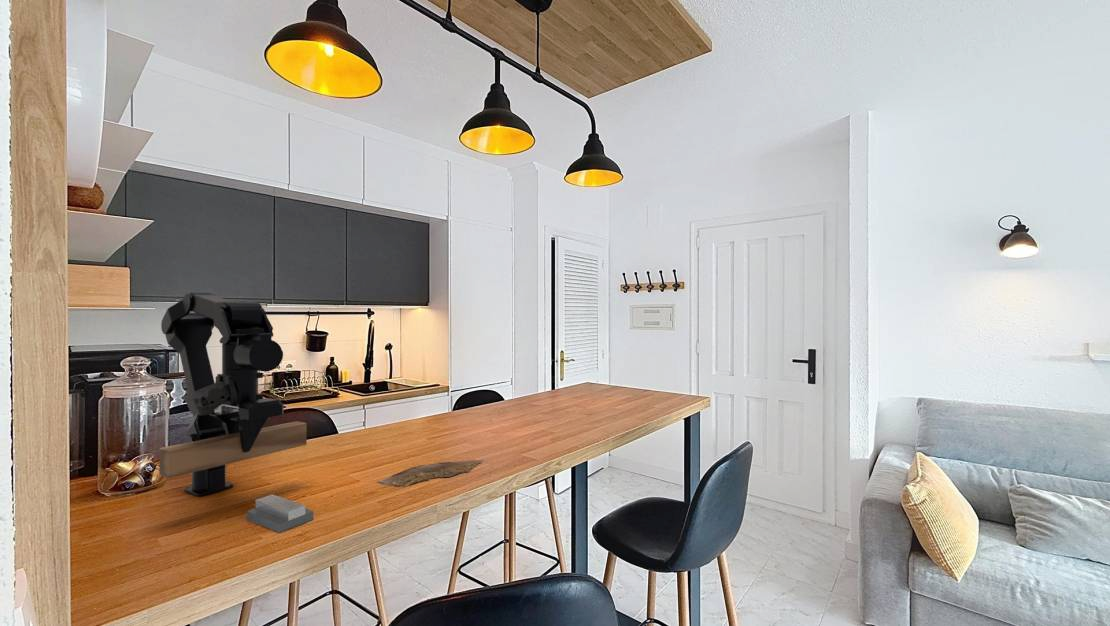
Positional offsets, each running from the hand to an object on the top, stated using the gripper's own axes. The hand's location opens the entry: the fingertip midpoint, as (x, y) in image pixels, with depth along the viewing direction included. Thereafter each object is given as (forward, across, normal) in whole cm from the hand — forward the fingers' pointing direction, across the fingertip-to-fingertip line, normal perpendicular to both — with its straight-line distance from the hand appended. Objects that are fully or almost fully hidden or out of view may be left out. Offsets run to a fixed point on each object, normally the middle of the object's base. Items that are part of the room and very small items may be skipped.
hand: (240, 450), depth 93 cm
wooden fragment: (+11, +18, +33) cm, 39 cm away
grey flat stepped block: (+10, +13, 0) cm, 17 cm away
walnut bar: (+1, 0, 0) cm, 1 cm away
